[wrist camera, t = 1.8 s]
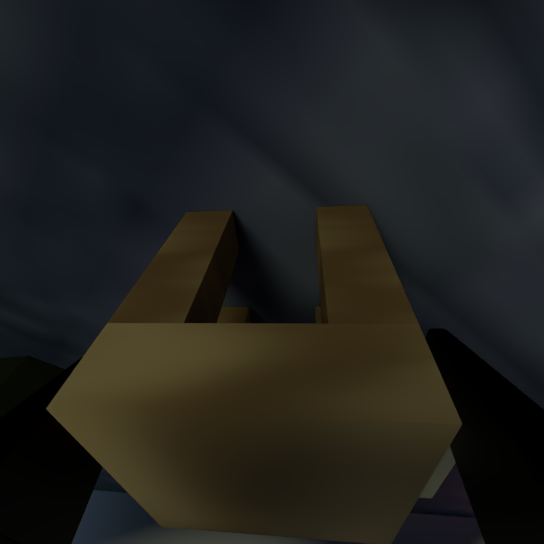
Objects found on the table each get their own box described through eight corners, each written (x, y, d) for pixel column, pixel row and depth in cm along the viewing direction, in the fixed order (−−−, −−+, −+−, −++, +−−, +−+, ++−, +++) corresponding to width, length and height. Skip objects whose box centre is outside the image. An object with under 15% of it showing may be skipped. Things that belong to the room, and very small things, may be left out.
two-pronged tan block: (366, 204, 10) (462, 424, 4) (351, 333, 13) (390, 545, 7) (186, 212, 10) (45, 409, 5) (218, 332, 14) (161, 526, 8)
